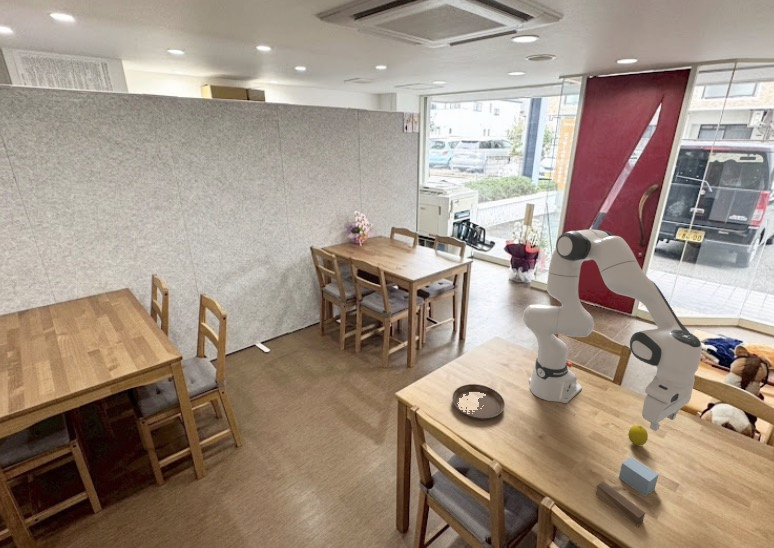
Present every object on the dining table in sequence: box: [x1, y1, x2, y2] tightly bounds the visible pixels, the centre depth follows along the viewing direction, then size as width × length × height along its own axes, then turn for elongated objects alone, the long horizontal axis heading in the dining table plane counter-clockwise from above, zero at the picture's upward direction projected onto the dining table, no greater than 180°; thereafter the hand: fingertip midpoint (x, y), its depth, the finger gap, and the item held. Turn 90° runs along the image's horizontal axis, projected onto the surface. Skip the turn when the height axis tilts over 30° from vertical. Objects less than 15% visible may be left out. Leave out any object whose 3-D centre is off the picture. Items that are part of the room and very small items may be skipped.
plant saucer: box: [452, 383, 506, 421], centre depth 153 cm, size 21×21×3 cm
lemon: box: [627, 424, 649, 446], centre depth 131 cm, size 6×6×8 cm
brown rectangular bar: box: [595, 480, 646, 528], centre depth 109 cm, size 3×12×4 cm, turn 29°
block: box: [618, 456, 660, 497], centre depth 117 cm, size 5×8×6 cm, turn 30°
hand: (662, 423), depth 114 cm, fingers open, 8 cm apart
